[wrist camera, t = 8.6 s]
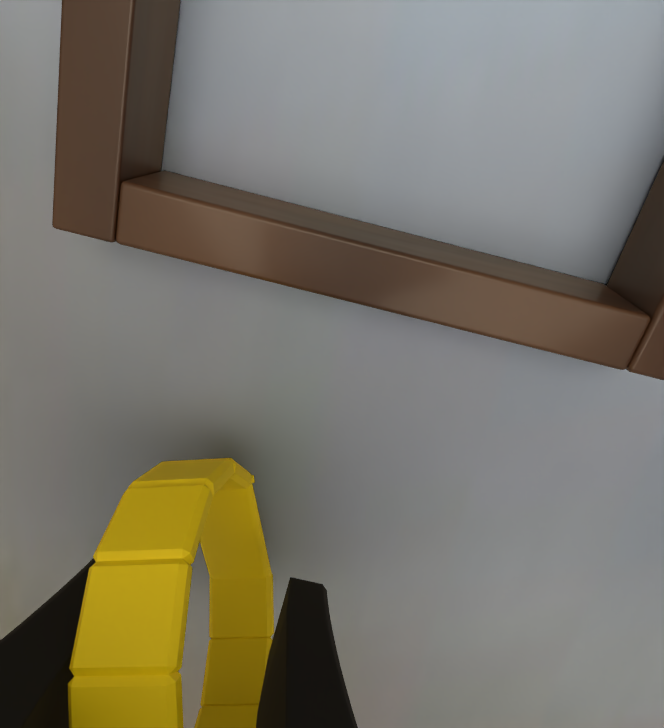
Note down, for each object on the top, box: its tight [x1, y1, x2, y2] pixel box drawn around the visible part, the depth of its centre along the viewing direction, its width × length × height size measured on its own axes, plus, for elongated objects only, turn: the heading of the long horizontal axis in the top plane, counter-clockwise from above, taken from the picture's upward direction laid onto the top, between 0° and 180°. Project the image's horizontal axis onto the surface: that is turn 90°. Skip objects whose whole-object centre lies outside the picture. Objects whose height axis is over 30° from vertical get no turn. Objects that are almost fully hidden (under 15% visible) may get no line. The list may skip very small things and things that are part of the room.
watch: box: [68, 458, 274, 728], centre depth 10 cm, size 6×3×6 cm, turn 6°
